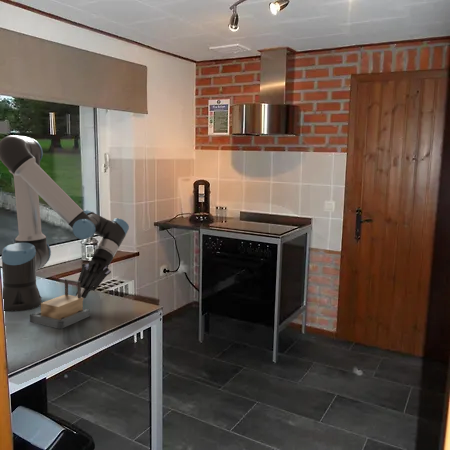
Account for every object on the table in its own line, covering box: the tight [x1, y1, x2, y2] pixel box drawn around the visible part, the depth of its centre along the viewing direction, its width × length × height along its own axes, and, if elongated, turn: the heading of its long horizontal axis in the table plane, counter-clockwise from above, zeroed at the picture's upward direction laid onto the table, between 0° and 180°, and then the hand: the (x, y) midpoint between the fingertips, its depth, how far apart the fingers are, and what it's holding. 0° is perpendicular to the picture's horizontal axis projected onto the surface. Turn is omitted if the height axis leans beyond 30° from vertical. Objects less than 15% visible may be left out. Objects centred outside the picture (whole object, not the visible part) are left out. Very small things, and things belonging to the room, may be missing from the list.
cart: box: [40, 278, 84, 320], centre depth 163 cm, size 9×12×13 cm
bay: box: [29, 308, 91, 330], centre depth 163 cm, size 14×14×2 cm
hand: (76, 304), depth 170 cm, fingers closed
